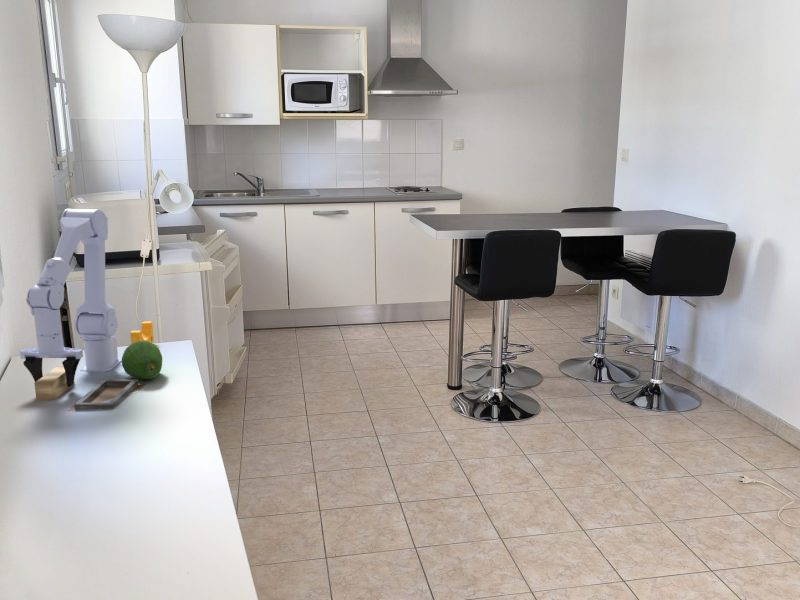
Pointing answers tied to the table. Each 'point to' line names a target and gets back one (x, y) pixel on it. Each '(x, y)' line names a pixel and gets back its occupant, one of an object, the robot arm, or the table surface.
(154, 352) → the fruit
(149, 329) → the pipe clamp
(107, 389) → the channel
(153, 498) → the table surface
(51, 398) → the wooden block
